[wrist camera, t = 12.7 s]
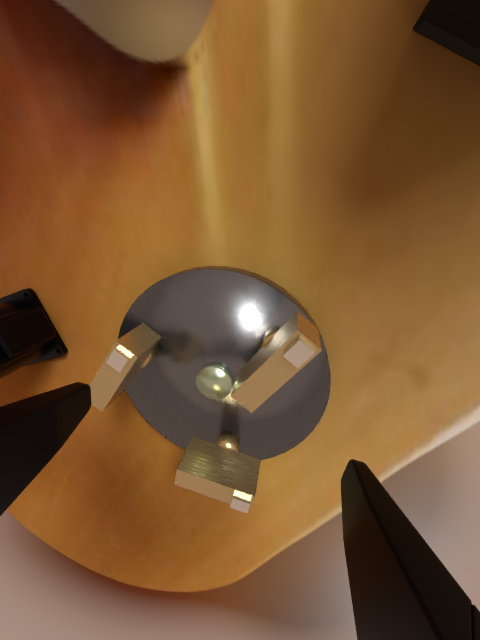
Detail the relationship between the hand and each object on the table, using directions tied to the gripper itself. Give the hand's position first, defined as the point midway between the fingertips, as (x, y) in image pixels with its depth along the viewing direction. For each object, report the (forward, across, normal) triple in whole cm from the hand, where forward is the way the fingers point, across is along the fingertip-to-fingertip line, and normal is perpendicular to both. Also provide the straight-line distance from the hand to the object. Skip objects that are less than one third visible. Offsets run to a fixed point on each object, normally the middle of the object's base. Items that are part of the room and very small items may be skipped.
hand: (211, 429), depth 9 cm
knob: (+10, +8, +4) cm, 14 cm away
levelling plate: (+12, +2, +5) cm, 13 cm away
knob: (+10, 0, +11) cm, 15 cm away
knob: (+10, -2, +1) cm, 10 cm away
